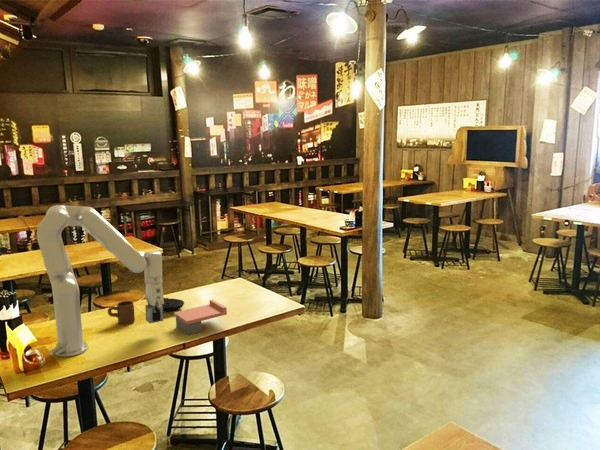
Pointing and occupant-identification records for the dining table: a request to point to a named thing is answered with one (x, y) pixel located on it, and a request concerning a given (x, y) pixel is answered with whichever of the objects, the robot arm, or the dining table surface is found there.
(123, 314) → the mug
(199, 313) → the stand
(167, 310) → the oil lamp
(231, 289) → the dining table surface
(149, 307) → the block
